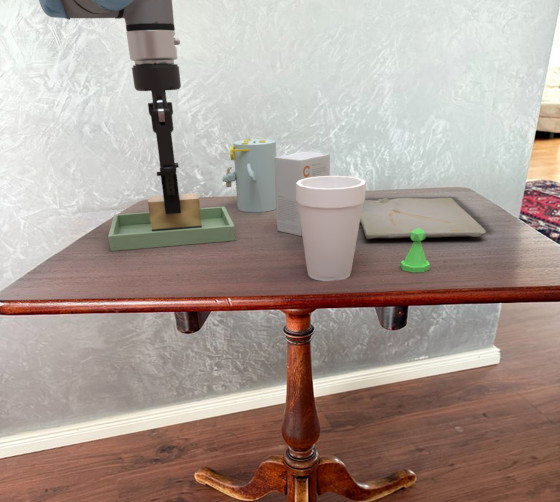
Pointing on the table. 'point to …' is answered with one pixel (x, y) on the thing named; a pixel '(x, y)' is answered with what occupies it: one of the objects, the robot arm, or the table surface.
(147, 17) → the robot arm
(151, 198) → the eraser
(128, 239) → the tray
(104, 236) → the table surface
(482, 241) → the table surface
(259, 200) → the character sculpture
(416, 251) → the game piece
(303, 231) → the foam cup
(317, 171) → the small box
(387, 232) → the decorative slab
